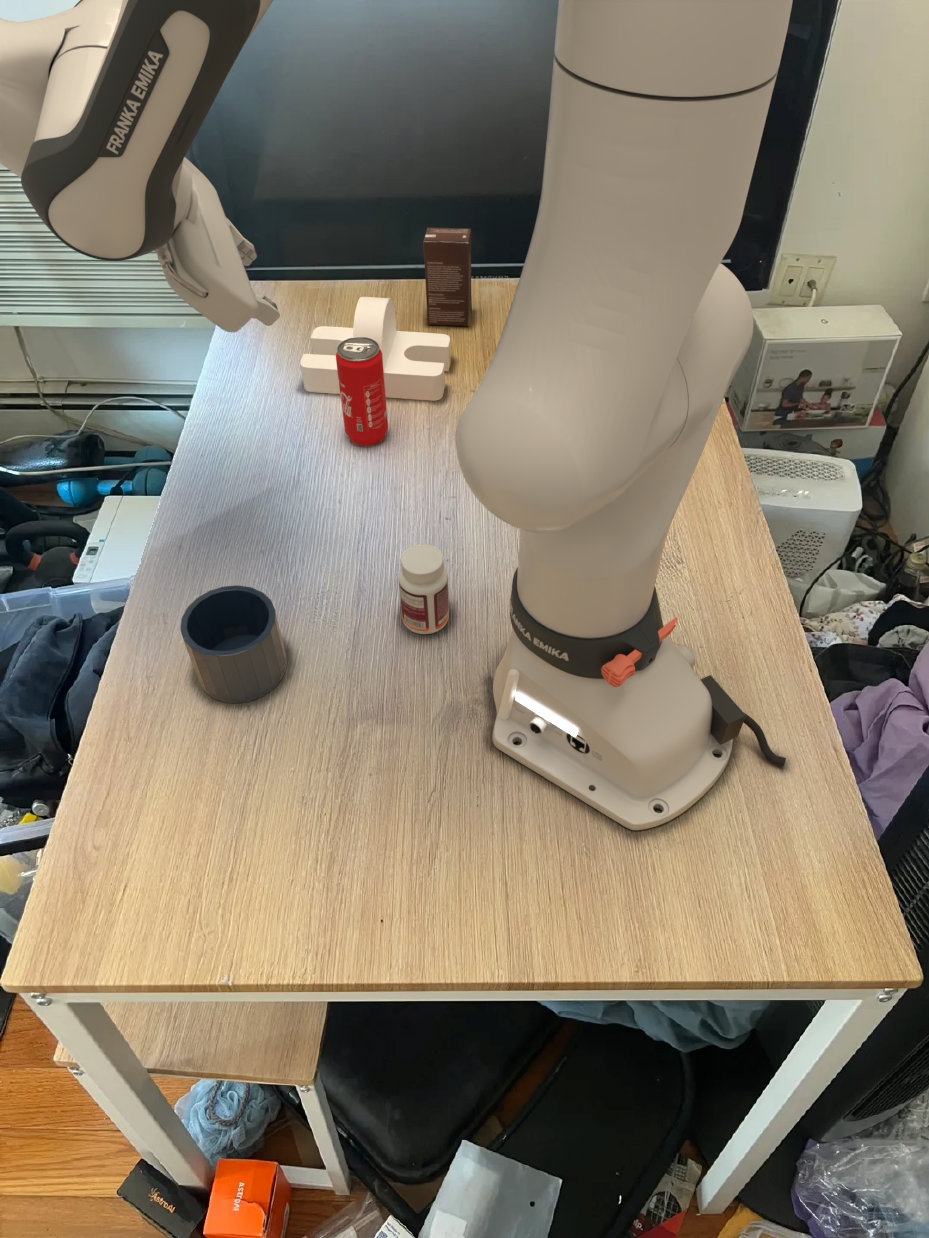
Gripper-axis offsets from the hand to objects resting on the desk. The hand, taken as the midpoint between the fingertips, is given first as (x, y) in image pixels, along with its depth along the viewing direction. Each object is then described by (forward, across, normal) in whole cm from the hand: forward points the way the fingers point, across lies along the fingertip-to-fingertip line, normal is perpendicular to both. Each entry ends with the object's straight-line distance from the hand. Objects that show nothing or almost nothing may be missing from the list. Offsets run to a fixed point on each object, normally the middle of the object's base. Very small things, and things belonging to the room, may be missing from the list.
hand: (262, 286), depth 88 cm
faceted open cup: (+8, -30, +21) cm, 37 cm away
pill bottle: (+19, -30, +7) cm, 36 cm away
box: (+38, +22, -4) cm, 44 cm away
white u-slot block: (+29, +12, +5) cm, 32 cm away
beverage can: (+24, 0, +8) cm, 26 cm away
